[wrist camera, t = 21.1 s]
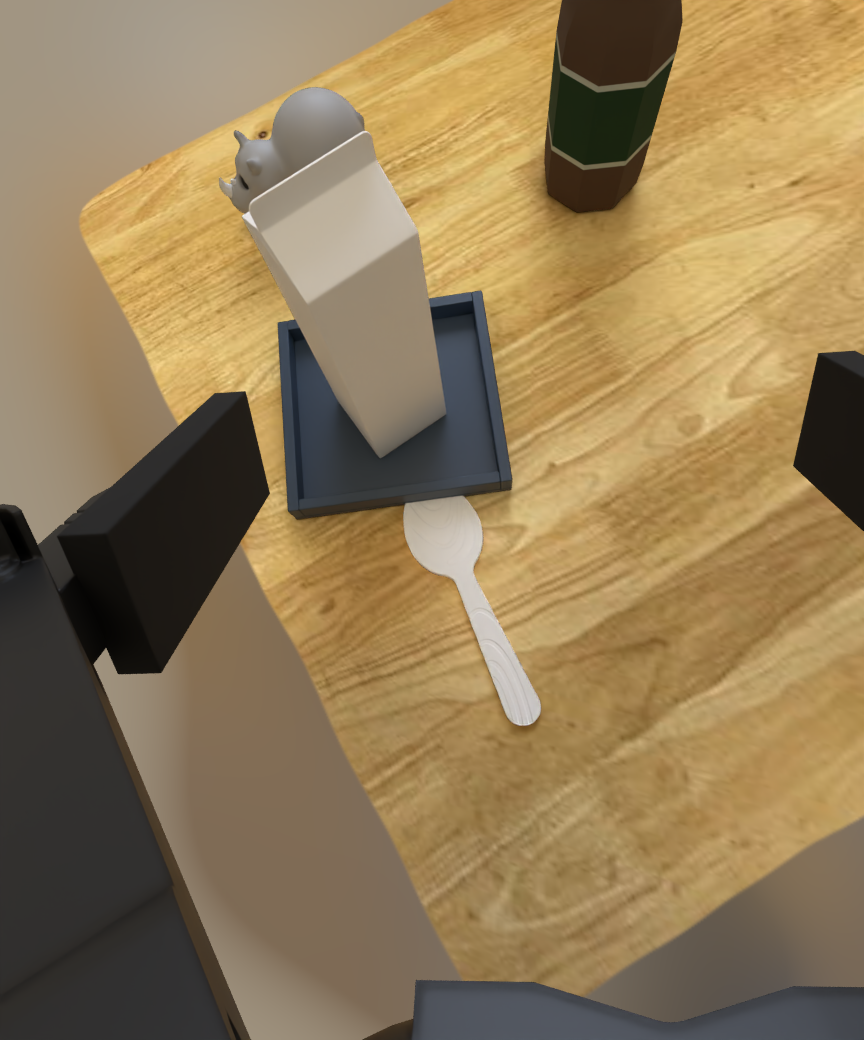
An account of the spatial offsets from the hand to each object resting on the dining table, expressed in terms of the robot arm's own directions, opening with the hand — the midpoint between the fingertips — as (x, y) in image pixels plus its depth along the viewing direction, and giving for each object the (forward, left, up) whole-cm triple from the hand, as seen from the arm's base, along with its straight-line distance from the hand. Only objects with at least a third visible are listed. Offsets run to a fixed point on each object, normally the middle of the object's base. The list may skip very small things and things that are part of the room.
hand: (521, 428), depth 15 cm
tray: (+6, -15, -28) cm, 33 cm away
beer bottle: (-12, -33, -29) cm, 45 cm away
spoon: (+2, 0, -29) cm, 29 cm away
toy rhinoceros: (+11, -35, -29) cm, 47 cm away
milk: (+6, -15, -28) cm, 33 cm away
